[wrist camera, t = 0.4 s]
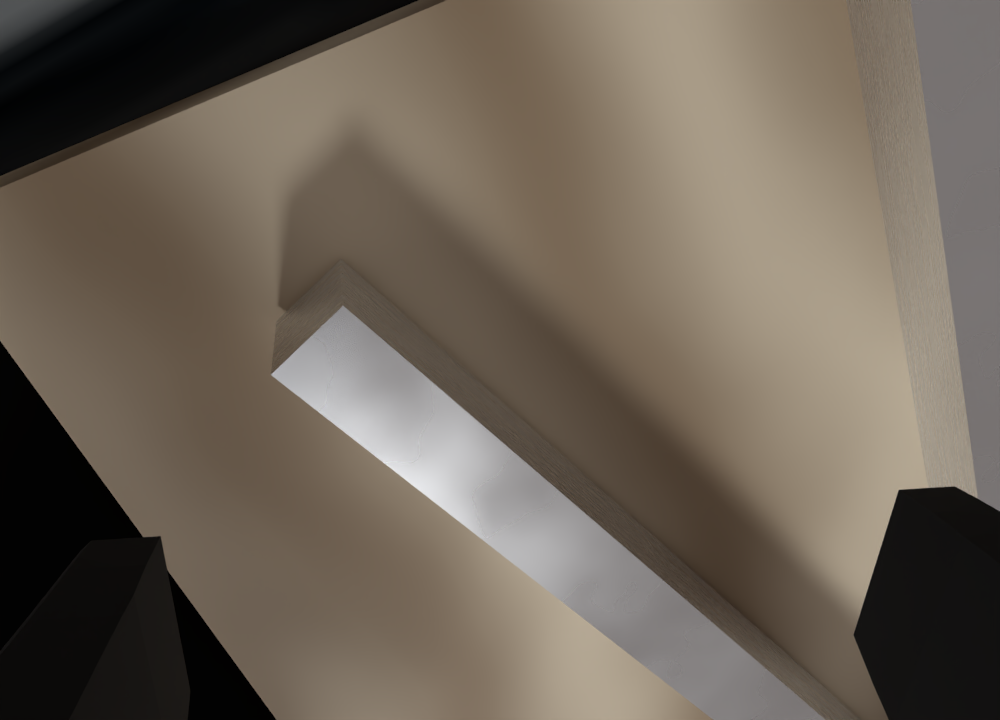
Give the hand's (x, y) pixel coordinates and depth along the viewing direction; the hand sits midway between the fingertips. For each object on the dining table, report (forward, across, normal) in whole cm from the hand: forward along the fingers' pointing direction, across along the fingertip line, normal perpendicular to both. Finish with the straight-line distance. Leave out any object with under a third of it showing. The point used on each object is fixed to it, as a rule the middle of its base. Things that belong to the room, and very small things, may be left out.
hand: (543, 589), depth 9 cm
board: (+9, -5, +9) cm, 14 cm away
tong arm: (+8, -6, +8) cm, 13 cm away
